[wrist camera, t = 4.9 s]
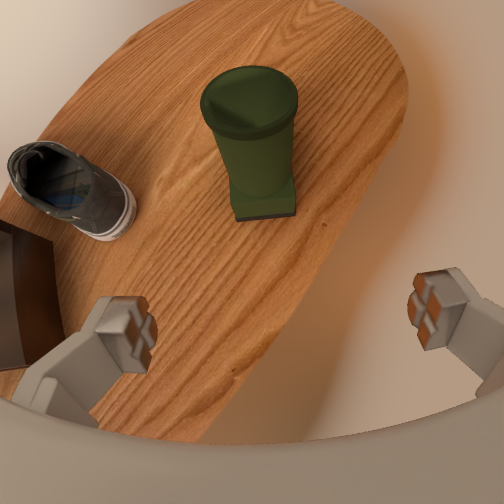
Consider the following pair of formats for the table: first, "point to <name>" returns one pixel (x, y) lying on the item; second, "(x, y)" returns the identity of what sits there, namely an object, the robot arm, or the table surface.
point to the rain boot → (254, 138)
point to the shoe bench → (27, 298)
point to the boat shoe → (72, 189)
